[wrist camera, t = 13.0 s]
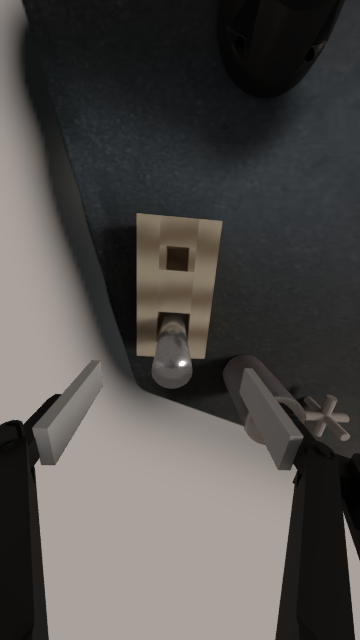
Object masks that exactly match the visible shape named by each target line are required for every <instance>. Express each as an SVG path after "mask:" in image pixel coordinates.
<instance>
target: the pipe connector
mask: <svg viewBox="0 0 360 640" xmlns="http://www.w3.org/2000/svg"><path fill="white" fill-rule="evenodd" d="M304 402H305V403H306V404H307V405H308V406H309V407H310V408H311V409H312V410H313V411H304V412H305V420H315V424H314V426H313V428H312V432H313V433H314V434H315V435H316V436H319V437H320V436H321V435H322V433H323V431H324V428H325V426H326V425H327V426H328V427H329V428H330V429H331V430H332V431H333V432H334V433H335V434H336V435H337V436H338V437H339V438H340V439H341V440H342V441H345V440H348V439H349V438H350V435H349V434H348V433H347V432H346V431H345V430H344V429H343V428H342V427H341V426H340V425H339V424H338V423H337V422H349V417H348V416H347V414H345V413H332V411H333V409H334V407H335V404H336V402H337V399H336V398H335V397H334V396H332V395H327V396H326V398H325V400H324V403H323V405H322V407H320V406H319V405H318V404H317V403H316V402H315V401H314V400H313V399H312V398H311V397H309V396H307V397H305V398H304Z"/></svg>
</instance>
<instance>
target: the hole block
mask: <svg viewBox="0 0 360 640" xmlns="http://www.w3.org/2000/svg"><path fill="white" fill-rule="evenodd" d="M221 228H222V221H215V220H204V219H193V218H182V217H171V216H160V215H149V214H139V213H137V356H155V352H156V347H157V343H158V338H159V333H160V329H161V324H162V320H163V315H164V313H165V312H171V313H182V315H183V319H184V325H185V330H186V336H187V342H188V347H189V353H190V358H197V359H204V358H205V351H206V343H207V335H208V328H209V320H210V312H211V304H212V297H213V289H214V281H215V274H216V266H217V258H218V251H219V243H220V235H221Z"/></svg>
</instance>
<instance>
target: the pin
mask: <svg viewBox="0 0 360 640" xmlns="http://www.w3.org/2000/svg"><path fill="white" fill-rule="evenodd" d="M152 376H153V378H154V380H155V381H156V382H157V383H158V384H159V385H160V386H162V387H165V388H170V389H174V388H179V387H181V386H183V385H185V384H186V383H187V382H188V381H189V380H190V378H191V376H192V364H191V359H190V353H189V347H188V342H187V336H186V330H185V325H184V319H183V315H182V313H171V312H165V313H164V315H163V320H162V324H161V329H160V333H159V338H158V343H157V347H156V352H155V356H154V361H153V366H152Z"/></svg>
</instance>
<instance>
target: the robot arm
mask: <svg viewBox="0 0 360 640" xmlns="http://www.w3.org/2000/svg"><path fill="white" fill-rule="evenodd" d="M344 2H345V0H220V6H219V13H218V39H219V46H220V51H221V55H222V58H223V61H224V64H225V66H226V68H227V70H228V72H229V74H230V76H231V77H232V79H233V80H234V81H235V82H236V84H237V85H238V86H239V87H240V88H242V89H243V90H244V91H246V92H247V93H249V94H251V95H254V96H257V97H274V96H278V95H281V94H283V93H285V92H287V91H289V90H290V89H292V88H293V87H294V86H295V85H297V84H298V83H299V82H300V81H301V80H302V79H303V77H304V76H305V75H306V74H307V72H308V71H309V70H310V68H311V67H312V65H313V64H314V62H315V61H316V59H317V58H318V56H319V55H320V53H321V52H322V50H323V49H324V47H325V45H326V43H327V41H328V39H329V37H330V35H331V33H332V31H333V28H334V26H335V24H336V21H337V19H338V16H339V14H340V12H341V9H342V7H343V4H344ZM101 374H102V373H101V361H94V360H92V361H91V362H90V363H89V364H88V365H87V366H86V368H85V369H84V370H83V371H82V372H81V373H80V375H79V376H78V377H77V378H76V379H75V380H74V381H73V382H72V383H71V385H70V386H69V387H68V388H67V389H66V390H65V391H64V393H63V394H55V395H53V396H52V397H50V398H49V399H48V400H46V402H45V403H44V404H43V405H42V406H41V407H40V408H39V409H38V410H37V412H35V413H34V414H33V415H32V416H31V417H30V418H29V419H28V420H27V421H26V422H25V423H24V425H23V423H22V422H21V421H19V420H12V421H8V422H5V423H3V424H1V425H0V640H49V637H48V625H47V613H46V600H45V588H44V577H43V565H42V564H43V563H42V550H41V538H40V526H39V513H38V501H37V489H36V476H35V467H34V465H35V463H36V462H37V461H38V459H39V458H40V462H41V465H55V464H56V463H57V461H58V460H59V458H60V456H61V455H62V453H63V451H64V450H65V448H66V446H67V445H68V443H69V441H70V440H71V438H72V436H73V435H74V433H75V431H76V430H77V428H78V426H79V425H80V423H81V421H82V420H83V418H84V417H85V415H86V413H87V411H88V410H89V408H90V407H91V405H92V403H93V401H94V400H95V398H96V397H97V395H98V393H99V392H100V390H101V388H102V375H101ZM239 393H240V395H241V397H242V399H243V401H244V403H245V405H246V407H247V409H248V411H249V413H250V415H251V417H252V419H253V421H254V423H255V425H256V427H257V429H258V431H259V433H260V435H261V437H262V439H263V441H264V443H265V445H266V447H267V449H268V451H269V452H270V455H271V457H272V458H273V460H274V463H275V464H276V466H277V469H278V470H291V467H292V465H293V464H294V465H295V467H296V468H297V470H298V471H297V473H296V476H295V478H294V480H293V483H294V484H295V486H294V494H293V502H292V511H291V518H290V527H289V535H288V543H287V551H286V559H285V567H284V575H283V583H282V591H281V599H280V607H279V615H278V623H277V631H276V639H275V640H355V634H354V624H353V613H352V602H351V593H350V582H349V571H348V560H347V550H346V539H345V529H344V518H343V512H344V515H345V518H346V521H347V524H348V527H349V530H350V533H351V536H352V539H353V542H354V545H355V548H356V550H357V554H358V557H359V560H360V454H358V453H356V454H353V456H352V458H351V459H350V458H347V457H344V456H341V455H337V454H335V453H334V452H333V450H331V449H330V448H329V447H328V446H327V445H325V444H323V443H322V442H319V441H316V440H315V438H314V437H313V436H312V435H311V433H310V432H309V431H308V430H307V428H306V427H305V426H304V425H303V424H302V422H301V421H300V420H299V419H298V417H297V416H295V414H294V412H293V411H292V410H291V409H290V408H289V407H288V406H287V405H285V404H284V403H278V402H277V400H276V399H275V398H274V396H273V395H272V394H271V392H270V391H269V390H268V388H267V387H266V386H265V384H264V383H263V382H262V380H261V379H260V378H259V376H258V375H257V374H256V372H255V371H254V370H253V368H244V373H243V377H242V382H241V387H240V391H239Z"/></svg>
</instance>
